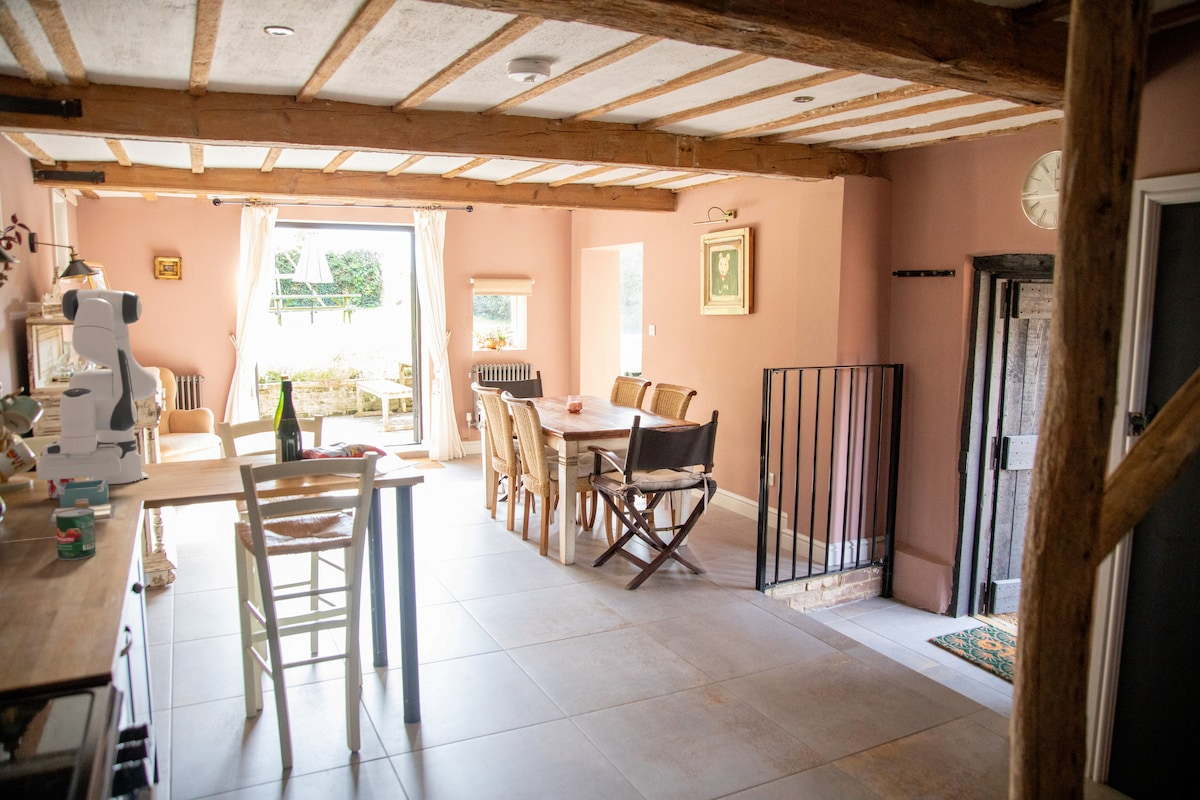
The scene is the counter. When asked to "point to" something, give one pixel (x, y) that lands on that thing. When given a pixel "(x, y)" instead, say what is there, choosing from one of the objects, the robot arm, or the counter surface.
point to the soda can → (53, 489)
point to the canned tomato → (75, 534)
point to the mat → (94, 519)
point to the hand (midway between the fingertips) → (81, 492)
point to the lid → (99, 510)
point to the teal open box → (84, 493)
